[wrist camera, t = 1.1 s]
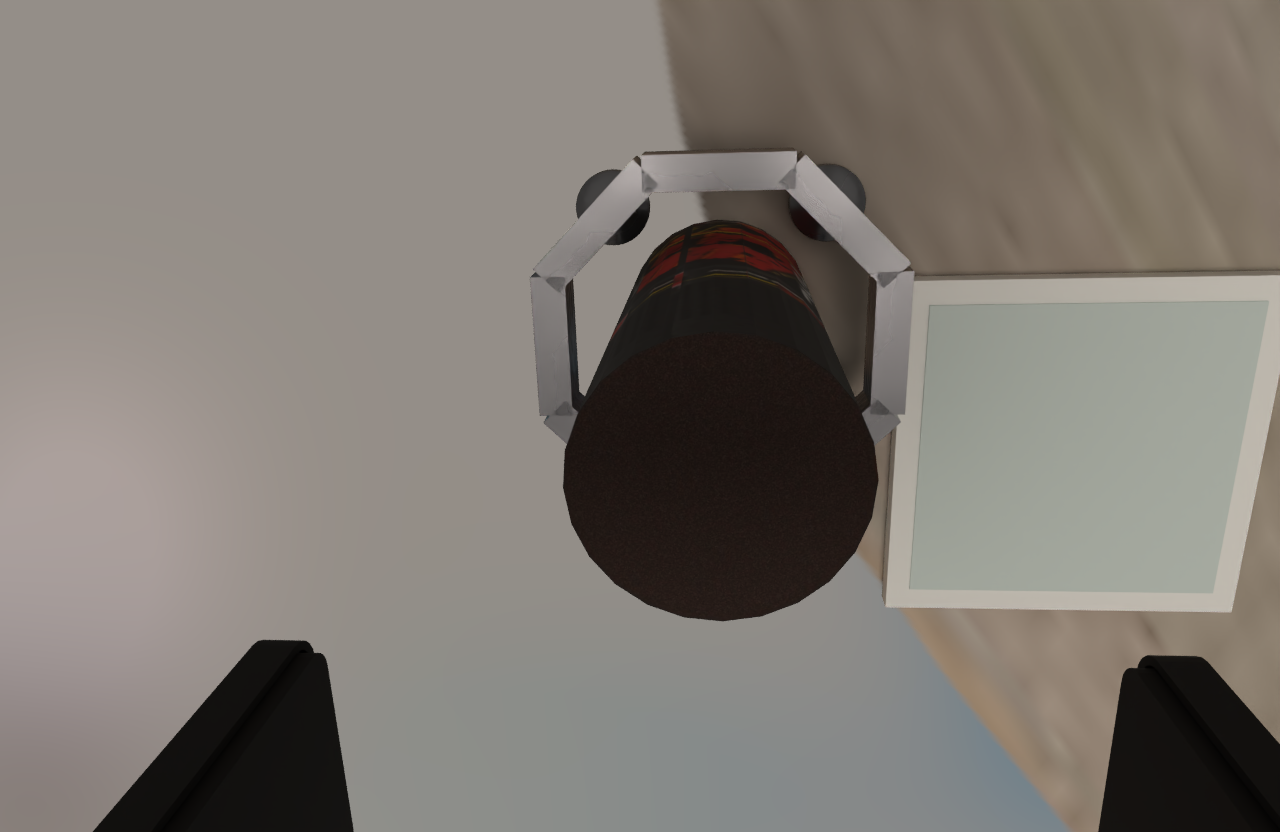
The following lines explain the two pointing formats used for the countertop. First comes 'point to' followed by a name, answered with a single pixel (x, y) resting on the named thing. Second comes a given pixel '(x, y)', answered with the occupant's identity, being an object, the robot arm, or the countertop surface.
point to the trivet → (1081, 440)
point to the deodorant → (720, 435)
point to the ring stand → (817, 201)
